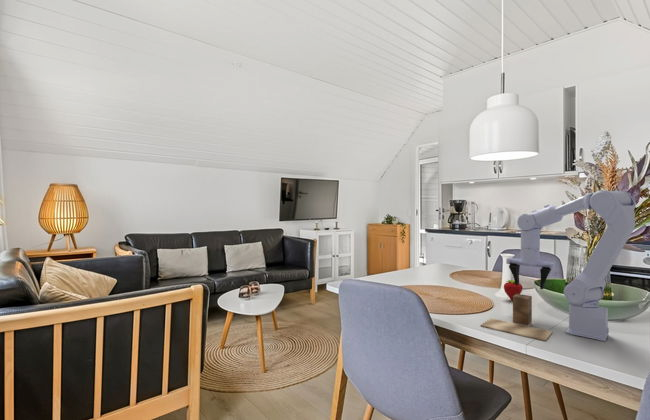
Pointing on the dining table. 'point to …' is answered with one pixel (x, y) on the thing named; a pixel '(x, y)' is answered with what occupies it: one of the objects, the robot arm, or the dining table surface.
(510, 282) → the strawberry
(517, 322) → the walnut block
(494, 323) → the light wood flat board
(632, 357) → the dining table surface
